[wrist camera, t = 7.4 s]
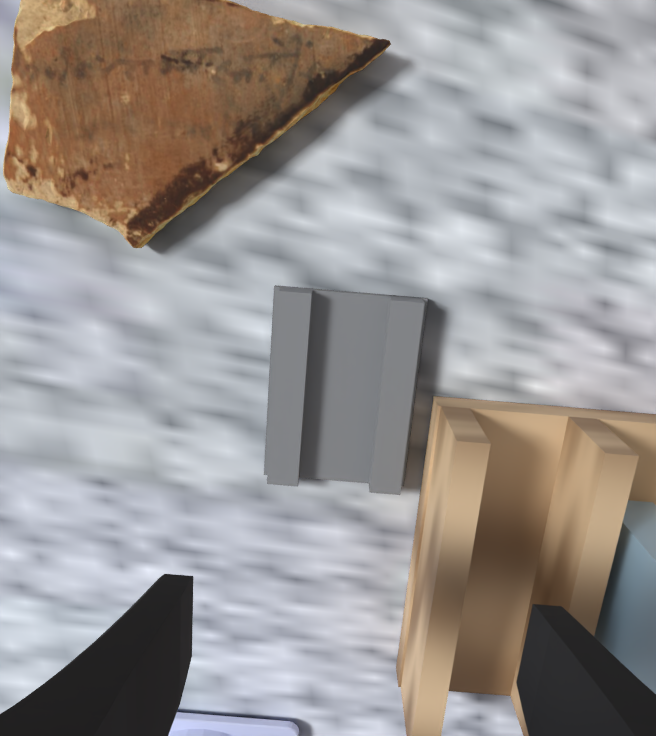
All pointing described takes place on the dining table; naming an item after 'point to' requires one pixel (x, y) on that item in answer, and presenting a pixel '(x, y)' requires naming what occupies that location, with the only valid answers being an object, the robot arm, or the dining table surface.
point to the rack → (511, 538)
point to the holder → (342, 386)
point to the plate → (632, 595)
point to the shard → (158, 100)
